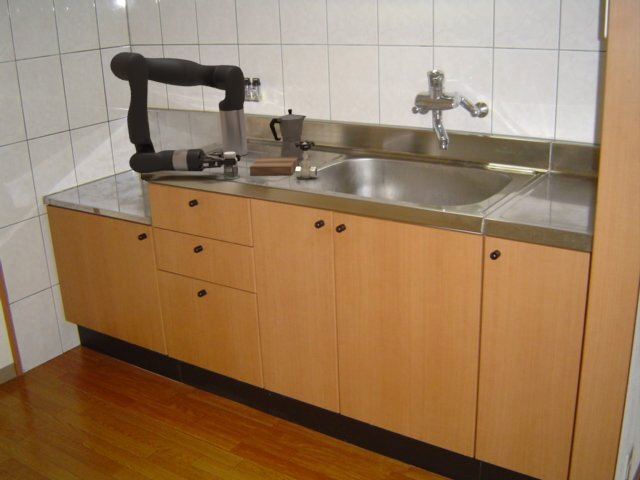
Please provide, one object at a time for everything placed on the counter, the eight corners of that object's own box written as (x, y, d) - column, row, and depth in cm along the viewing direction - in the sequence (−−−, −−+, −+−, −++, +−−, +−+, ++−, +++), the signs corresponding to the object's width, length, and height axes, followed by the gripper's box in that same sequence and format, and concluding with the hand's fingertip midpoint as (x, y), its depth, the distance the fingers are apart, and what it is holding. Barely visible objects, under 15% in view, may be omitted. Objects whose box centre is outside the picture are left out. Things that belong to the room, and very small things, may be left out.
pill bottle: (221, 178, 246) (219, 153, 243) (231, 174, 250) (229, 150, 247) (231, 179, 243) (229, 155, 240) (241, 176, 247) (239, 152, 244)
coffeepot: (300, 153, 276) (298, 105, 270) (315, 157, 268) (312, 108, 262) (265, 160, 268) (262, 111, 262) (279, 164, 260) (275, 114, 254)
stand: (260, 165, 260) (259, 157, 259) (298, 165, 258) (298, 156, 257) (250, 175, 247) (249, 167, 246) (291, 175, 245) (290, 166, 244)
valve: (314, 181, 237) (312, 144, 233) (294, 181, 238) (292, 144, 234) (318, 176, 243) (316, 140, 239) (299, 176, 244) (297, 140, 240)
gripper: (180, 154, 239) (231, 153, 236) (194, 144, 252) (242, 144, 249) (183, 176, 241) (233, 176, 239) (196, 165, 255) (244, 165, 252)
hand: (237, 159), depth 244 cm, fingers closed on pill bottle, 4 cm apart
